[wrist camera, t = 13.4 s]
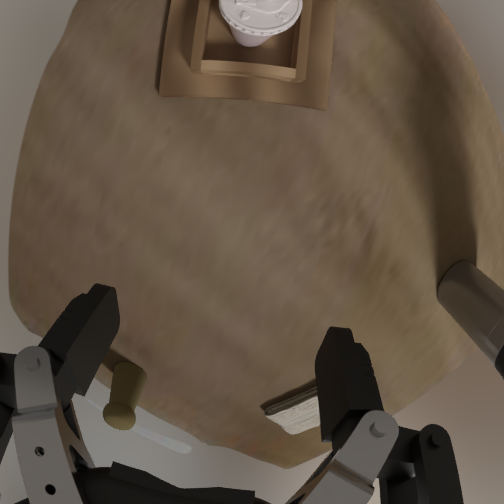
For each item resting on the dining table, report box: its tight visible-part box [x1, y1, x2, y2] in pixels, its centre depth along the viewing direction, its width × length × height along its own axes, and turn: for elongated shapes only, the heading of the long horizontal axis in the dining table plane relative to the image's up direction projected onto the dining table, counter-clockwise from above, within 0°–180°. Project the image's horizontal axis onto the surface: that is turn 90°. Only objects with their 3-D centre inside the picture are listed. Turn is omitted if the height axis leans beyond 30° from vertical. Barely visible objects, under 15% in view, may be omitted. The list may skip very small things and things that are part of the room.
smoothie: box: [219, 0, 302, 47], centre depth 18 cm, size 6×6×14 cm
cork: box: [103, 362, 147, 430], centre depth 40 cm, size 6×6×11 cm
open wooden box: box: [159, 0, 336, 110], centre depth 24 cm, size 18×16×4 cm
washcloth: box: [264, 386, 320, 434], centre depth 51 cm, size 12×18×3 cm, turn 121°
